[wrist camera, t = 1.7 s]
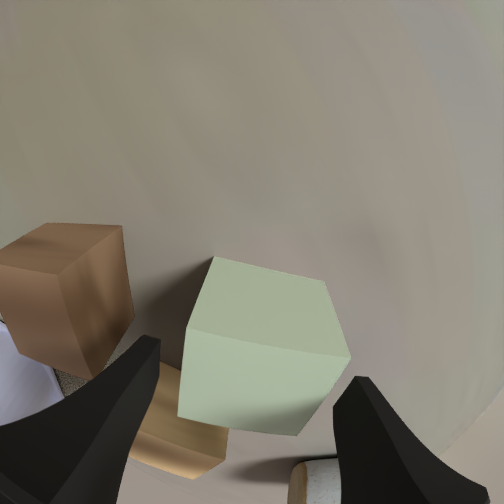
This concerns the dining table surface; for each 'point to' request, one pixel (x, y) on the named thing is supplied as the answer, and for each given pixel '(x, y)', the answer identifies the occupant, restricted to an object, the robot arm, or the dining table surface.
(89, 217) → the dining table surface
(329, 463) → the ceramic mug
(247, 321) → the sage block
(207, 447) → the oak block
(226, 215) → the dining table surface
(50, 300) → the walnut block
